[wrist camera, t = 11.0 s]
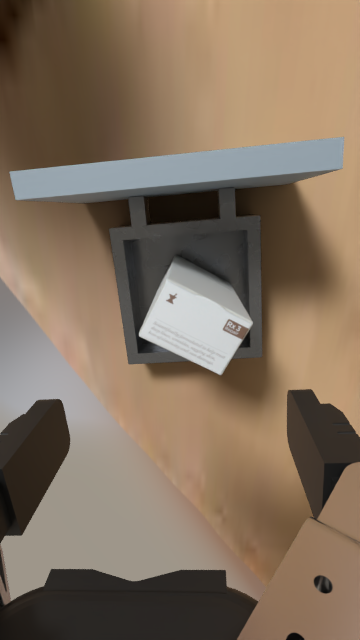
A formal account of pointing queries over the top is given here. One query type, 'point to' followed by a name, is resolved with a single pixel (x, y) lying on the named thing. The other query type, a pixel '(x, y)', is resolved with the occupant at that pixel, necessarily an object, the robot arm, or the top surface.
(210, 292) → the skincare box
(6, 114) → the top surface
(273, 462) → the top surface
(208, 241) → the grey open tray
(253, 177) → the backboard
